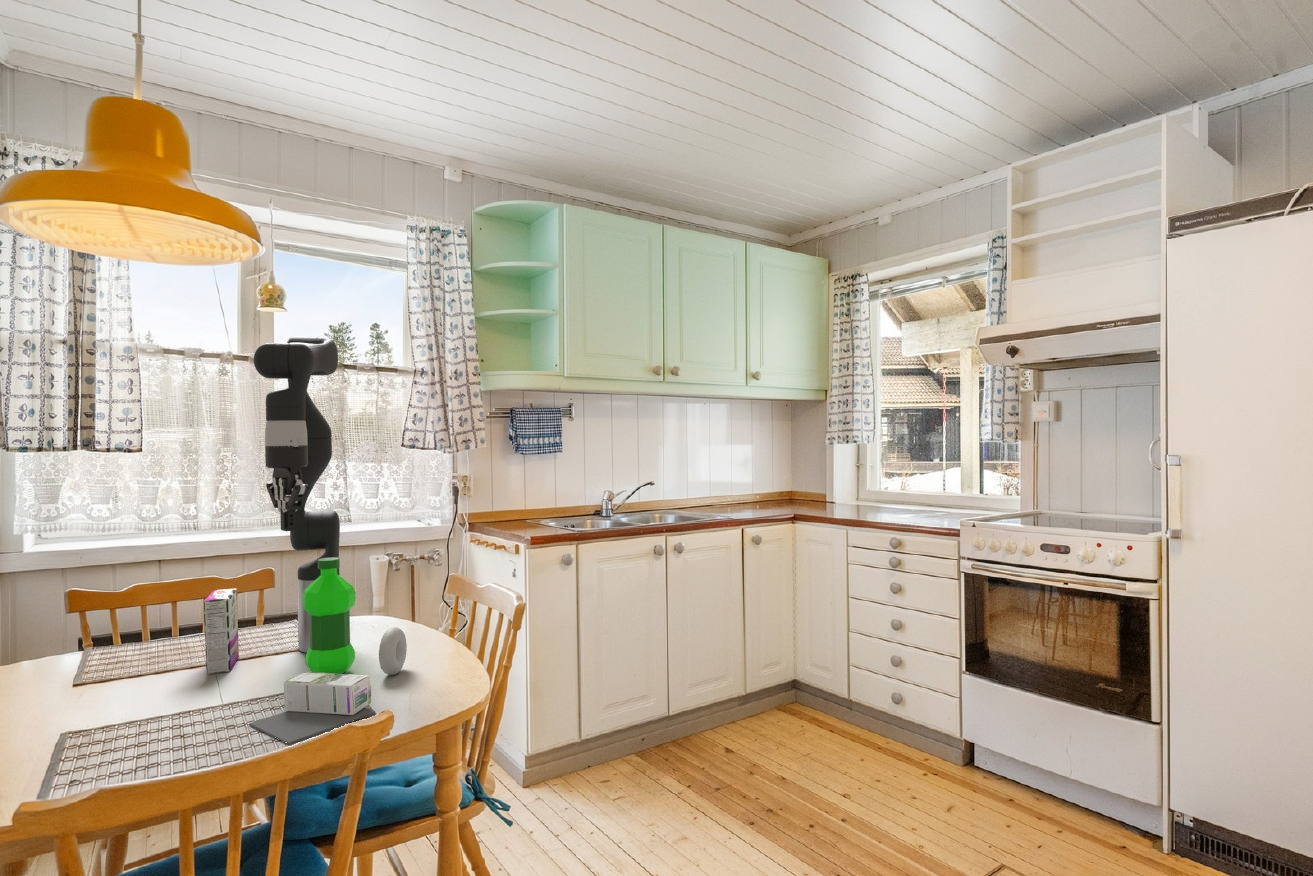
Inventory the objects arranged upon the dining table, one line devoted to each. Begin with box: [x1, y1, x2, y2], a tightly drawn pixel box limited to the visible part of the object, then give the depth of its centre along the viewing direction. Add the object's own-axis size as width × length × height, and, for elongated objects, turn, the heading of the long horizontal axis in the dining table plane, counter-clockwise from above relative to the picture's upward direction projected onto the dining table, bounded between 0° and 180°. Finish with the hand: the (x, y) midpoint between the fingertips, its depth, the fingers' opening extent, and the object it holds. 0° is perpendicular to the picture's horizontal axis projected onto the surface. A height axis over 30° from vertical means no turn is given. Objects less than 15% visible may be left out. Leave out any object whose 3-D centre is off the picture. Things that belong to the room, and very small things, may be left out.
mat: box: [248, 707, 376, 746], centre depth 131 cm, size 14×16×1 cm
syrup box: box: [283, 671, 372, 715], centre depth 135 cm, size 6×6×14 cm
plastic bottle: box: [303, 557, 357, 674], centre depth 156 cm, size 10×10×25 cm
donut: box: [378, 626, 408, 676], centre depth 156 cm, size 10×4×10 cm, turn 0°
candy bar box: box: [203, 588, 240, 675], centre depth 162 cm, size 11×5×16 cm, turn 22°
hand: (288, 530), depth 144 cm, fingers closed
